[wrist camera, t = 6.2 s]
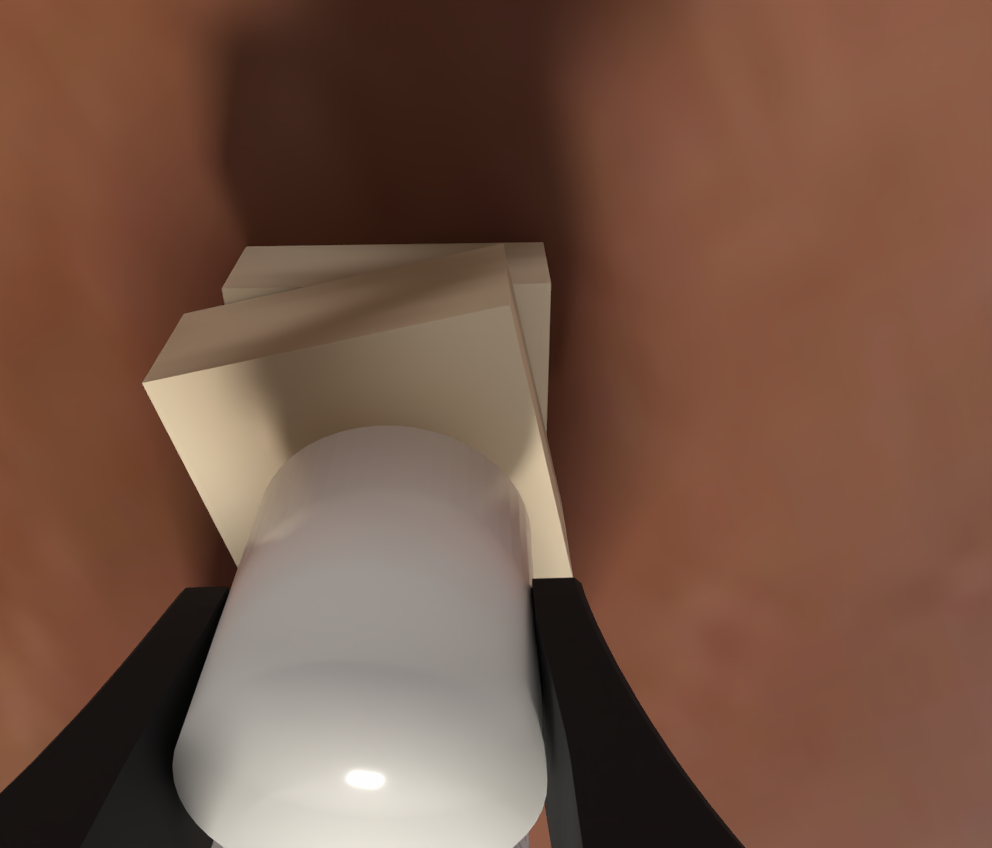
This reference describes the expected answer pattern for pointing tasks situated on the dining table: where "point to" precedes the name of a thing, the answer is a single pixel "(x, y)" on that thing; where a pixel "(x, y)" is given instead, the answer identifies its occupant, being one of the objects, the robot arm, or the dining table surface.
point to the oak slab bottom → (324, 263)
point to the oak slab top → (359, 384)
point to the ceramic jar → (374, 658)
